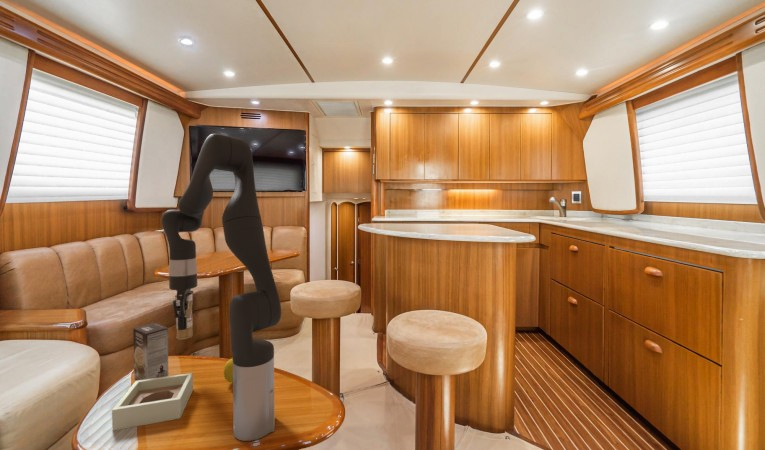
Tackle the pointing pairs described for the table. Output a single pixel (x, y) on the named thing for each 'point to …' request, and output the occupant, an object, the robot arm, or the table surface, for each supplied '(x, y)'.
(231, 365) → the lemon
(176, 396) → the peg box
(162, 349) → the coffee box
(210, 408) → the table surface
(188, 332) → the sprinkles bottle
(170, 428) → the table surface
